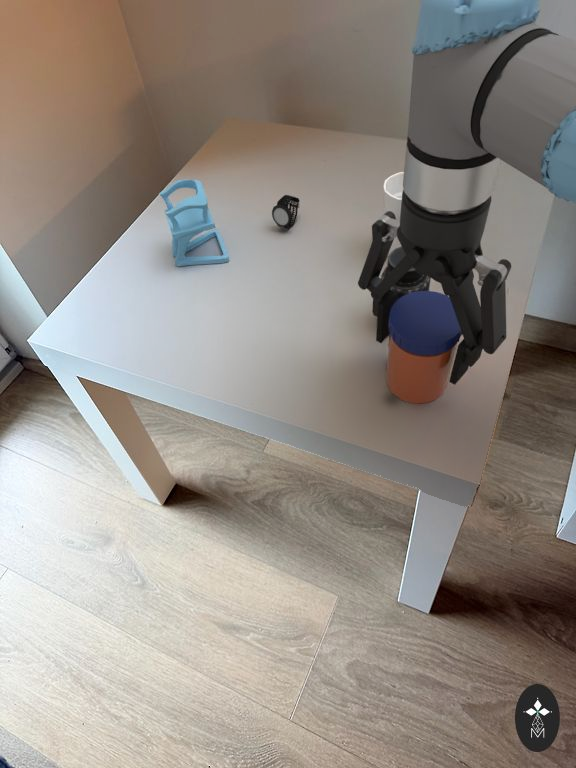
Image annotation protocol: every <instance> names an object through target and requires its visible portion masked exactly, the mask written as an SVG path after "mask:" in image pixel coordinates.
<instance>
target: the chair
mask: <svg viewBox="0 0 576 768" xmlns="http://www.w3.org/2000/svg"><path fill="white" fill-rule="evenodd" d="M184 188H185V189H186V188H188V189H193V190H195V195H192V196H190V197H186V198H184V199H182V200H181V201H179V202H177V204H175V205H174V206H173V204H172V201H171V200H170V199H169V197H170V196H171V195H172V194H173V193H174V192H175V191H177V190H180V189H184ZM158 195H159V196H160V197H161V198H162V200H163V201H164V202H165V205H166V208H167V209H165V210H164V214H165V216H166V219H167V223H168V226H169V230H170V233H171V236H172V245H171V252H172V256H173V257H174V263H175V266H176V267H183V266H184V267H185V266H196V265H211V264H225V263H229V262H230V256H229V254H228V251H227V248H226V246H225V243H224V241H223V238H222V235H221V233H220V231H219V229H217V228H216V224H215V221H214V218H213V216H212V214H211V211H210V209H209V206H208V205H209V203H208V198H207V195H206V191H205V189H204V186H203V183H202V181H201V180H199V179H178V180H176V181H174V182H173V183H171V184H170V185H169V186H168V187H166V189H163V190H162V191H160V192H159V193H158ZM206 231H207V232H206ZM203 232H205V233H203ZM201 233H203V234H201ZM199 234H201V235H200V236H198V237H196V238H194V237H195V236H197V235H199ZM215 237H216V240H217V242H218V245H219V247H220V250H221V252H222V255H206V256H203V255H202V256H185V254H186V253H188V252H191V250H193V249H196V247H199V246H200V245H203V244H204V243H205V242H207V241H209V240H210V239H213V238H215ZM193 238H194V239H193ZM191 239H192V240H191Z"/></svg>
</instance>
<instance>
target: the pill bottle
mask: <svg viewBox="0 0 576 768" xmlns="http://www.w3.org/2000/svg"><path fill="white" fill-rule="evenodd" d="M405 256H406V254H405V252H404V250H403V248H402V246H401V247H398V248H396V249H394V250H393V251H392V252H391V253H390V254H389V256H387V263H386V264H387V265H386V267H384V268H383V271H382V272H381V275H380V276H381V277H380V279H382V280H383V279H384V278H385V277H386V276H387V275H388V274H389V273H390V272H391V271H392V270H393V269H394V268H395V266H396V265H397V264H398V263H399V262H400V261H401V260H402V259H403V258H404V257H405ZM431 279H432V278H431V277H429V276H427V275H422V274H420V273H418V272H415V268H414V267H412V268H411V269H410V270H409V271H408V272H407V273H406V274H405V275H404V276H403V277H402V278H401V279H400V280H399V281H398V282H396V283H395V285H394V286H393V287H391V288H390V289H389V292H390V291H391V290H394V291H396V292H397V300H398V299H399V298H401V297H402V296H404V295H406V294H409V293H412V292H417V291H430V286H431Z"/></svg>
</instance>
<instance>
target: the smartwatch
mask: <svg viewBox="0 0 576 768" xmlns="http://www.w3.org/2000/svg"><path fill="white" fill-rule="evenodd" d="M300 205H301V204H300V199H299V197H296V196H292V195H290V194H284V195H283V196H282V197H280V199H278V201H277V203H276V205H274V206H273V208H272V210H271V217H272V220H273V221H274V223H275V224H276V225H277V227H279V228H283V229H285V230H289V229H291V228H293V226H294V225H295V223H296V221H297V217H298V211H299V210H298V209H300Z"/></svg>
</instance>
